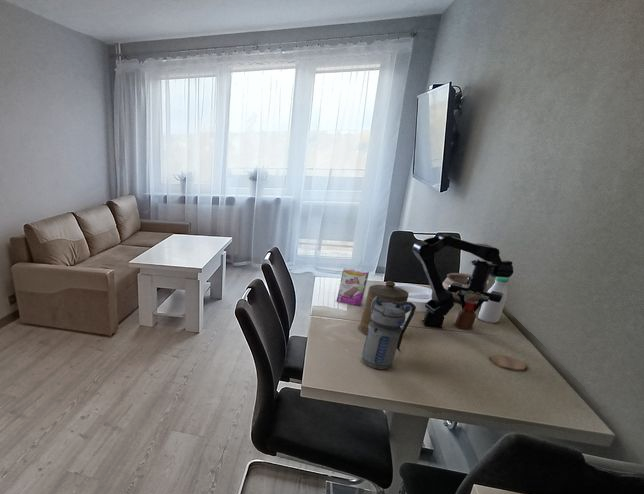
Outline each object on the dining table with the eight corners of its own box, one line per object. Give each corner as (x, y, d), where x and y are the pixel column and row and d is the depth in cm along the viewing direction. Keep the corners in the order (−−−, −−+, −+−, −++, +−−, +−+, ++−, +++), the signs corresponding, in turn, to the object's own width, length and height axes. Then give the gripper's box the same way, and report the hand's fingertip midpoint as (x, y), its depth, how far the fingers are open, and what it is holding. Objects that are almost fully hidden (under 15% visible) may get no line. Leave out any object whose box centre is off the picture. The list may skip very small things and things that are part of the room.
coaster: (496, 367, 146) (497, 366, 146) (487, 355, 155) (487, 353, 155) (530, 373, 144) (531, 371, 143) (518, 359, 152) (519, 357, 152)
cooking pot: (438, 290, 222) (445, 268, 217) (480, 297, 213) (488, 275, 208) (438, 305, 202) (445, 281, 197) (484, 313, 193) (492, 289, 188)
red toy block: (473, 311, 173) (475, 305, 172) (462, 309, 176) (464, 302, 174) (475, 309, 176) (477, 302, 175) (464, 306, 178) (466, 300, 177)
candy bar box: (336, 301, 203) (342, 269, 196) (338, 298, 207) (344, 267, 200) (360, 306, 198) (367, 274, 191) (362, 303, 201) (369, 271, 195)
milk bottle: (501, 324, 183) (517, 281, 174) (482, 322, 184) (497, 279, 176) (493, 317, 189) (508, 275, 181) (474, 315, 191) (488, 274, 183)
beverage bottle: (401, 374, 141) (420, 306, 131) (359, 367, 145) (374, 300, 134) (397, 360, 149) (414, 296, 139) (358, 354, 153) (372, 291, 143)
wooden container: (402, 331, 173) (416, 281, 164) (391, 342, 163) (404, 290, 154) (367, 321, 182) (377, 273, 173) (353, 331, 172) (364, 281, 163)
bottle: (456, 327, 177) (464, 305, 173) (452, 322, 183) (460, 300, 178) (473, 330, 175) (481, 307, 171) (469, 324, 181) (477, 302, 177)
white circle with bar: (440, 298, 211) (443, 289, 209) (441, 316, 189) (444, 306, 187) (381, 288, 224) (383, 279, 222) (375, 303, 202) (377, 294, 200)
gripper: (510, 277, 169) (497, 312, 176) (458, 267, 181) (448, 300, 187) (506, 283, 162) (493, 319, 168) (452, 272, 173) (441, 306, 180)
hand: (468, 311), depth 176 cm, fingers closed on red toy block, 4 cm apart
